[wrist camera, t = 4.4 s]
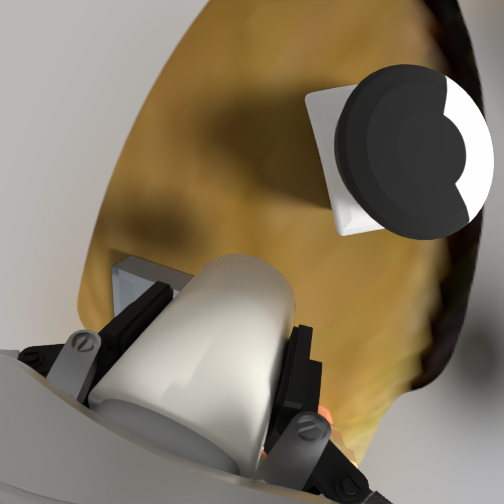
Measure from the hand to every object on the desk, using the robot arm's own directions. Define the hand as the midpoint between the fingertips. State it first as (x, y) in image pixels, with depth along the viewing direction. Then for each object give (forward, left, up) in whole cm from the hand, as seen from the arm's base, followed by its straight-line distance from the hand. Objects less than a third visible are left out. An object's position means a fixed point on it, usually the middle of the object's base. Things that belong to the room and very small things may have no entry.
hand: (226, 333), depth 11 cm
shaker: (0, 0, -3) cm, 3 cm away
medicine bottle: (-9, +5, -11) cm, 15 cm away
